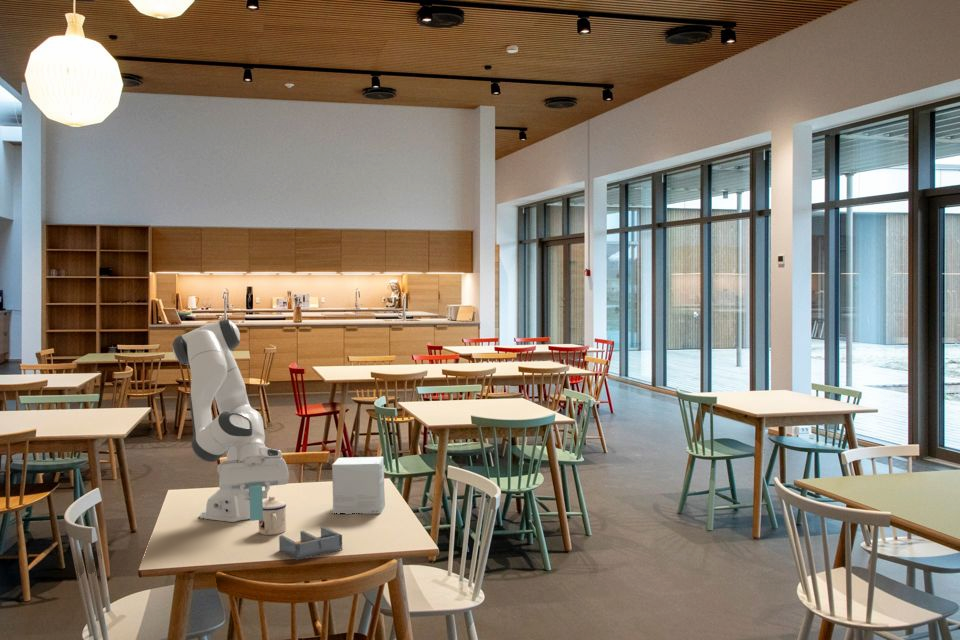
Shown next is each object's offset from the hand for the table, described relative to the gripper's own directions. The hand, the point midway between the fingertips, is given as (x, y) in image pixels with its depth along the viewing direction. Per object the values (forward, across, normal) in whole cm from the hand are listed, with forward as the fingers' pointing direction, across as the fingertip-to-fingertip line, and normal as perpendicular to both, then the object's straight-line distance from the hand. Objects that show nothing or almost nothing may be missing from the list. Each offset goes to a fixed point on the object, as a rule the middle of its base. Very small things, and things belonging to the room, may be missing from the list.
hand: (256, 498), depth 241 cm
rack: (+11, +16, +14) cm, 24 cm away
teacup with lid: (-5, +7, +31) cm, 32 cm away
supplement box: (-17, +40, +44) cm, 61 cm away
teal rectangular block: (+4, 0, +5) cm, 6 cm away
